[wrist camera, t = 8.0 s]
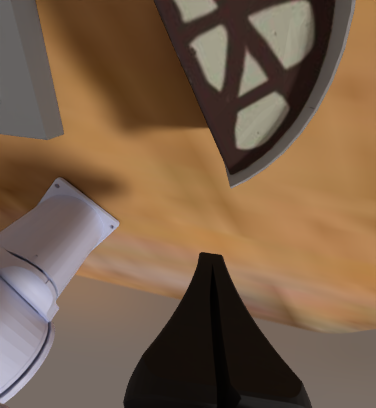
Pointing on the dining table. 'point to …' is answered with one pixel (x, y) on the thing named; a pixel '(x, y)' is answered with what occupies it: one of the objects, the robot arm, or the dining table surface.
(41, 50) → the keypad
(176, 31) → the food container
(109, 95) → the dining table surface
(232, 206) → the dining table surface
